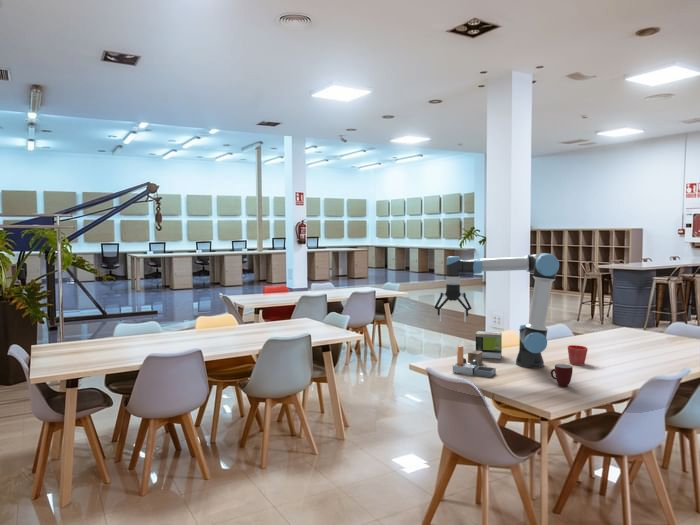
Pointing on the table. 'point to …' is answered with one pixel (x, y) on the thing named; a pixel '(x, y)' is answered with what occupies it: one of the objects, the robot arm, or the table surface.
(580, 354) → the flower pot
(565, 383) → the mug
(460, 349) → the stop pin
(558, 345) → the table surface
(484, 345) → the retro computer monitor
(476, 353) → the chock block
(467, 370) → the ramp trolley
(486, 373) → the pin tray
